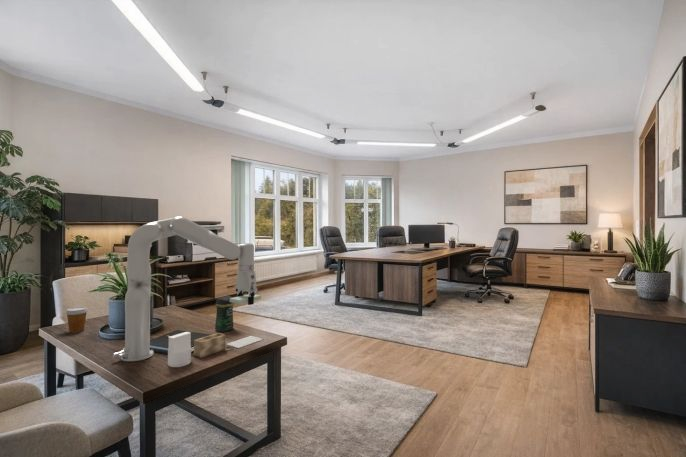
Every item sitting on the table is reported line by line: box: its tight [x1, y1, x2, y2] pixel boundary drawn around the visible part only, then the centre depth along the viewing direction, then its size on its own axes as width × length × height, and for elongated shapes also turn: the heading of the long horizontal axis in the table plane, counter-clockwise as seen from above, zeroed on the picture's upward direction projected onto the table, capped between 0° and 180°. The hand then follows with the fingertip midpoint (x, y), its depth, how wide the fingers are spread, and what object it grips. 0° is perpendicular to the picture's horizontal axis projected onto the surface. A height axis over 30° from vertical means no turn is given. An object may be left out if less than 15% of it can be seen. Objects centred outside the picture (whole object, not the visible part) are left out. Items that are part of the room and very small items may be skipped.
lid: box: [230, 294, 262, 305], centre depth 179 cm, size 14×7×2 cm, turn 146°
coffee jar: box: [214, 295, 235, 333], centre depth 199 cm, size 10×8×19 cm
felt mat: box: [225, 335, 264, 350], centre depth 179 cm, size 16×9×1 cm, turn 146°
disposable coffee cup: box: [65, 306, 88, 333], centre depth 191 cm, size 10×10×12 cm
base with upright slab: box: [167, 331, 192, 368], centre depth 152 cm, size 9×9×12 cm
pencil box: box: [193, 332, 226, 358], centre depth 165 cm, size 13×5×7 cm, turn 146°
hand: (245, 303), depth 179 cm, fingers closed on lid, 7 cm apart
